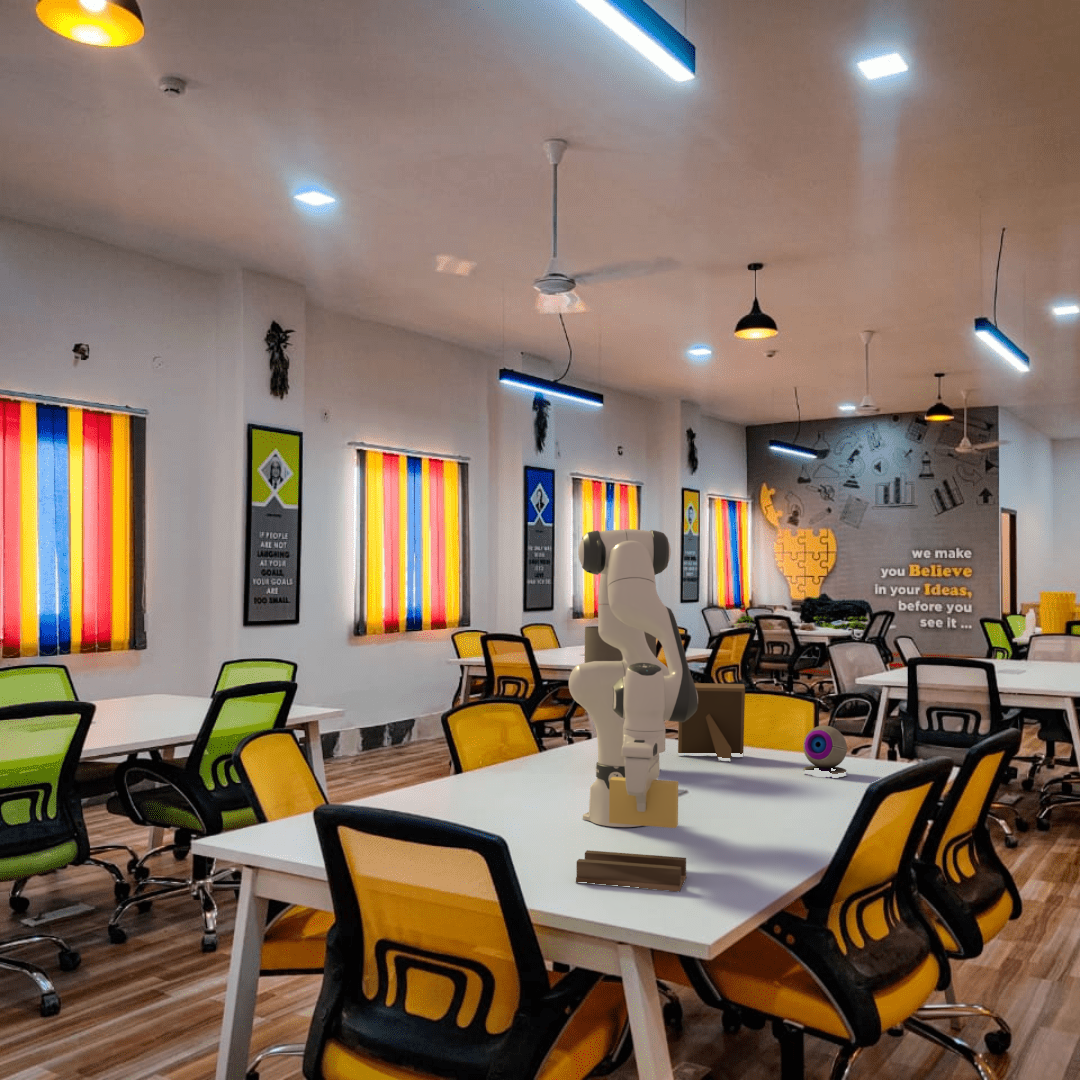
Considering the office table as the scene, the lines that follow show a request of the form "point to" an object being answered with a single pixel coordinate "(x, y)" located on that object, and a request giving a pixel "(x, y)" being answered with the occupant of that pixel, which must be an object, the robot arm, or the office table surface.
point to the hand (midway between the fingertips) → (643, 808)
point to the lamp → (607, 647)
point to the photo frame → (715, 721)
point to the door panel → (658, 806)
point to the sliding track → (632, 870)
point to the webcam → (825, 749)
